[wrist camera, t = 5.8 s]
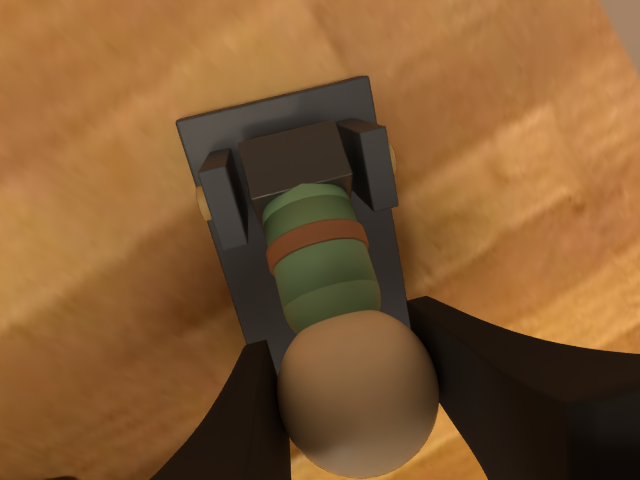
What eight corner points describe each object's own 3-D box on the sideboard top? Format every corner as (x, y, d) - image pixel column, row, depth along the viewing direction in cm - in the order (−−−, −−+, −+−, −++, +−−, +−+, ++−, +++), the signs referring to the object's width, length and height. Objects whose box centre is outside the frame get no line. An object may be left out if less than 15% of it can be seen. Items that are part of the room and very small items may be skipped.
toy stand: (407, 334, 21) (454, 405, 16) (260, 375, 20) (263, 461, 16) (362, 75, 17) (406, 71, 12) (178, 119, 16) (151, 131, 12)
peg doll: (349, 171, 17) (443, 446, 13) (239, 199, 16) (304, 488, 13) (354, 96, 13) (488, 456, 9) (209, 130, 13) (291, 516, 9)
